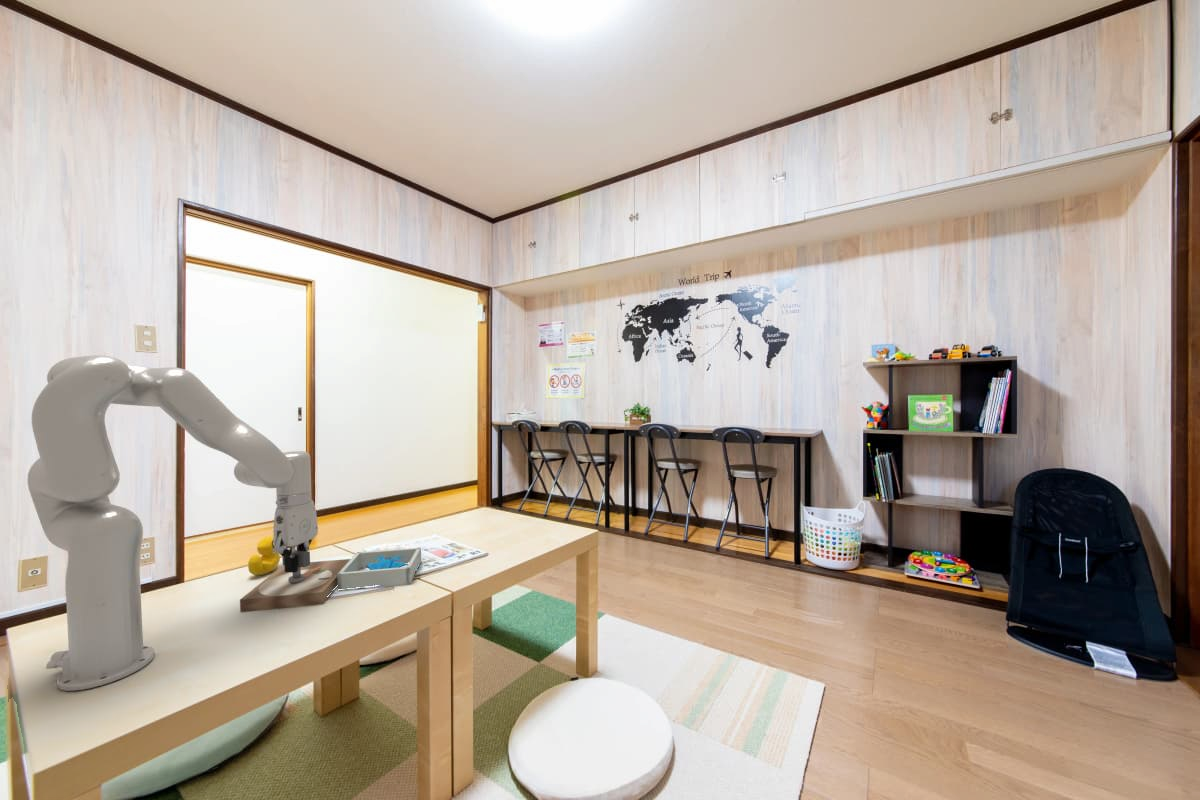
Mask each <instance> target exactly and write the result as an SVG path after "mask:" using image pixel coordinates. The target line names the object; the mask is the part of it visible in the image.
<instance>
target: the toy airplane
mask: <svg viewBox="0 0 1200 800" xmlns="http://www.w3.org/2000/svg"><path fill="white" fill-rule="evenodd" d="M402 556H403V555H400V556H395V558H393V559H391V558H389V559H388V558H385V559H383V558H384V557H382V556H377V558H378V559H379V561H380V562H377V563H371V564H367V565H366V567H367V568H366V569H368V570H377V569H389V568H401V567H405V565H406V564H405V563H404V562H395V561H396V560H398V559H399V558H401V557H402Z"/></svg>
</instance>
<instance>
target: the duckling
mask: <svg viewBox="0 0 1200 800" xmlns="http://www.w3.org/2000/svg"><path fill="white" fill-rule="evenodd" d="M274 547H275V545H274V538H273V536H266V537H264V538H261V539H260V541H259V542H258V544H257V547H256V550H257V551H256V552H257V553H258V554H254V555H252V556H251V557H250V558H249V559H248V567H247V568H248V572H249V573H250V574H252V575H254V576H262V575H266V574H268V573H270V572H272V571H274V570H275V569H276V568H277V567H278V565H279V562H280V559H281V557H280V554H277V553H273V550H274ZM259 554H260V555H261V556H260V555H259Z"/></svg>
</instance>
